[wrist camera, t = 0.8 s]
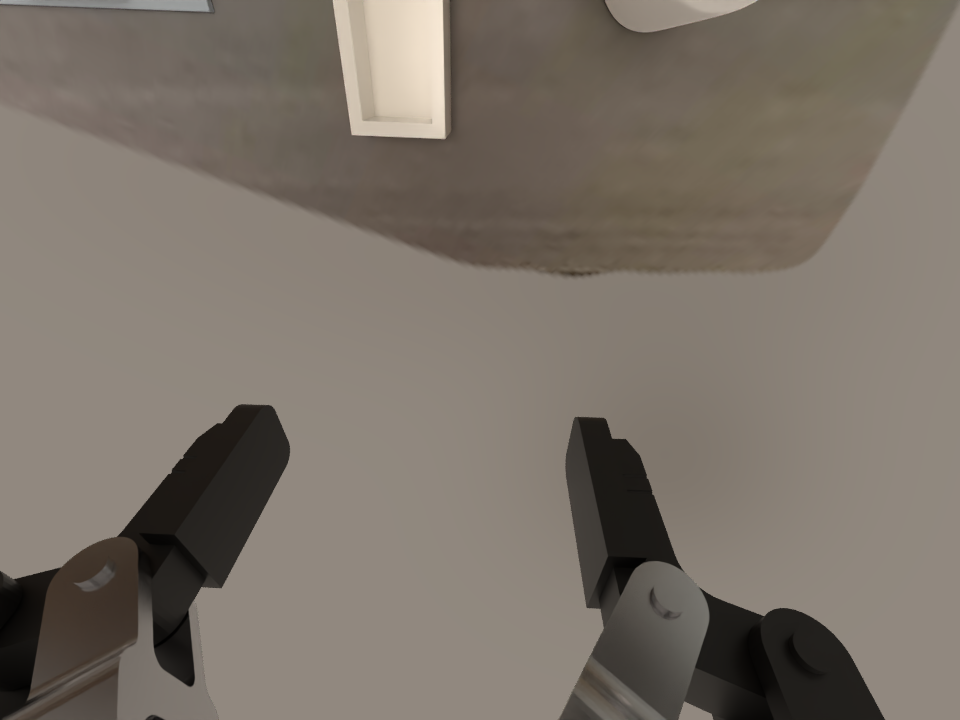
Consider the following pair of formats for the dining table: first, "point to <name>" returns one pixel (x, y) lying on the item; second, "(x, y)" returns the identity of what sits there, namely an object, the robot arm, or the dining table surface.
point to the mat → (123, 4)
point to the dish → (396, 66)
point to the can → (669, 12)
